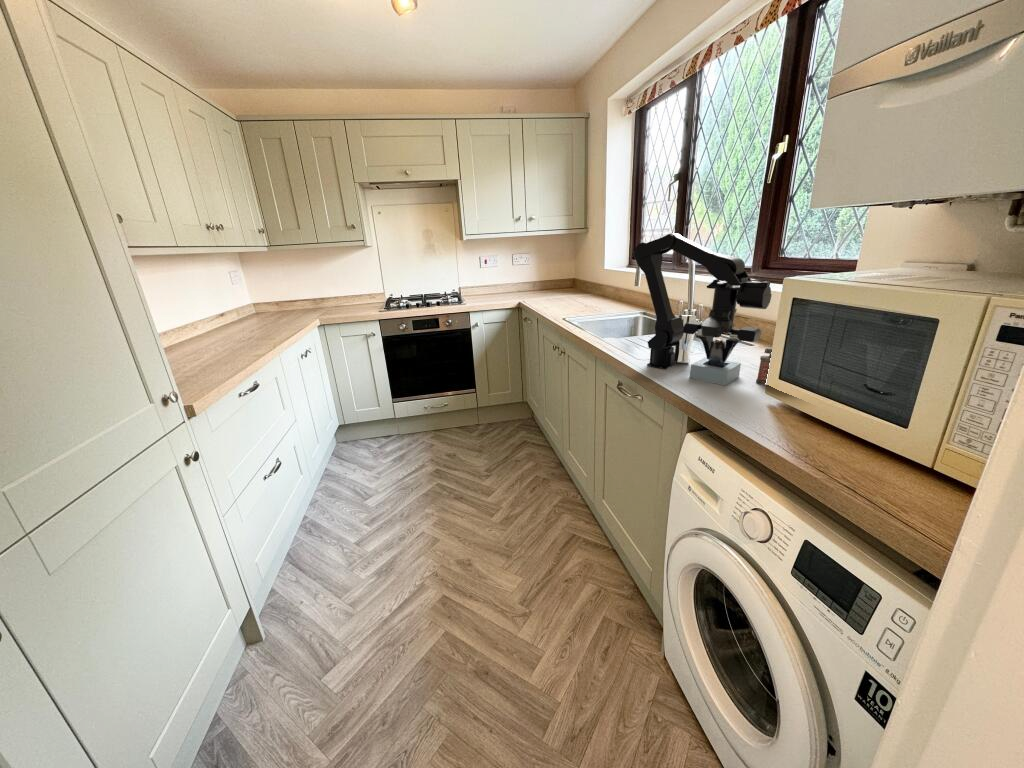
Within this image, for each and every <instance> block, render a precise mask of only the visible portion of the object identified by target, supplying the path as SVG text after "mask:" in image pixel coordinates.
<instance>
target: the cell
mask: <svg viewBox="0 0 1024 768" xmlns="http://www.w3.org/2000/svg"><path fill="white" fill-rule="evenodd" d="M725 348H726V340H724V339H721V338H717V339H715V340H714V339H713V341H711V346H710V353H709V361H708V365H709V366H715V367H720V368H723V365H724V362H723V356H724V352H725Z"/></svg>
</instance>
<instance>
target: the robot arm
mask: <svg viewBox="0 0 1024 768" xmlns="http://www.w3.org/2000/svg"><path fill="white" fill-rule="evenodd" d="M670 251H674V252H676V253H678V254H679V255H681V256H684V257H686V258H687V259H689V260H691V261H693V262H695V263H697V264H699V265H701V266H702V267H704V268H705V269H706V270H707V271H706V272H708V274H711V276H713V277H714V278H715V279H713V280H712V281H711V283H709V284H708V285H706V289H713V290H714V291H713V292H714V293H713V299H712V306H711V307H712V308H711V309H710V310H709V311H710V312H709V313H708V317H707V318H706V319H705V320H704V321H697V320H696V321H692V322H689V323H686V324H685V326H684V327H683V324H682V318H681V317H678V318H676V317H675V315H676V314H674V312H673V309H672V306H671V301H670V298H669V295H668V290H667V287H666V284H665V279H664V275H663V272H662V265H663V260H664V258H663V255H664V254H667V253H669V252H670ZM633 257H634V260H635V261H636V264H637V266H638V267H639V268H640V270H641V271H642V272H643V273H644V276H645V279H646V283H647V287H648V290H649V295H650V298H651V302H652V306H653V310H654V313H655V318H656V319H655V324H654V336H653V337H651V338H650V339H649V340H648V341H647V347H648V349H650V354H649V356H650V357H649V362H648V363H647V364H646V366H647V367H653V368H658V369H662V370H667V369H669V368H671V367H673V366H675V364H676V362H674V358H675V352H674V347H672V346H676V344H677V342H678V341H679V340H681V338H682V337H683V335H684V333H687V334H694V333H695V334H696V333H697V334H696V335H695V334H694V335H695V337H696V338H697V339H699V340H700V341H701V343H702V345H703V348H704V352H705V357H707V359H709V353H710V346H711V341H714V338H717V339H718V338H720V337H721V336H722V335H725V336H729V338H727V339H726V340H725V342H726V348H725V352H724V356H723V362H725V361H728V358H729V357H730V355H731V353H732V352H733V350H734V348H736V346H737V345H738V343H740V342H748V343H754V342H755V341H758V340H759V339H761V336H762V335H761V333H762V331H761V329H760V328H759V327H750V326H744V327H742V328H734V327H735V323H734V322H735V314H736V313H737V310H738V309H737V307H736V306H737V305H739V307H740V308H745V309H747V308H748V309H758V310H766V309H768V307H769V305H770V304H771V299H772V295H773V294H772V289H771V282H770V281H752V279H751V277H750V276H749V275H748V273H747V271H746V267H745V266H746V265H745V261H744V260H743V259H741V258H740V257H737V256H732V255H728V254H724V253H718V252H715V251H713V250H711V249H709V248H707V247H705V246H702V245H700V244H698V243H696V242H695V241H692V240H691V239H688V238H686V237H684V236H682V235H681V234H680V233H677V232H676V233H668V234H666V235H664V236H661V237H659V238H657V239H654V240H651V241H648V242H647V241H646V242H645V241H643V242H639V243H638V244H637V245H636V247H635V248H634V249H633Z"/></svg>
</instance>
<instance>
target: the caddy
mask: <svg viewBox="0 0 1024 768" xmlns="http://www.w3.org/2000/svg"><path fill="white" fill-rule="evenodd" d="M708 361H709V359H707V356H705V357H704V358H701V359H699V360H697V361H695V362H693V363H691V364H690V370H689V379H692V378H693V380H698V381H703V382H707V383H713V384H718V385H721V386H722V385H723V386H727V385H728V384H730V383H732V382H733V381H734V380H736V379H738V378H739V376H740V371H741V365H742V363H741V362H737V361H736V362H735V361H729V360H726V361H725V362H724V365H723V368H720V367H715V366H709V365H708Z"/></svg>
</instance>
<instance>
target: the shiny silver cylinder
mask: <svg viewBox="0 0 1024 768" xmlns="http://www.w3.org/2000/svg"><path fill="white" fill-rule="evenodd" d="M674 315H675V317H676V318H678V317H681V318H682V324H683V327H684V326H685V324H686V323H689V322H692V321H697V315H691V314H690V315H688V314H687V315H685V314H674ZM695 334H696V333H694V334H687V333H684V335H683V337H682V338H681V340H679V341H678V342H677V344H676V346H672V347H674V352H675V358H674V363H679V364H680V363H681V364H689V363H690V362H691V361H690V350H691V347H692V344H693V342H694V337H695Z"/></svg>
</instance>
